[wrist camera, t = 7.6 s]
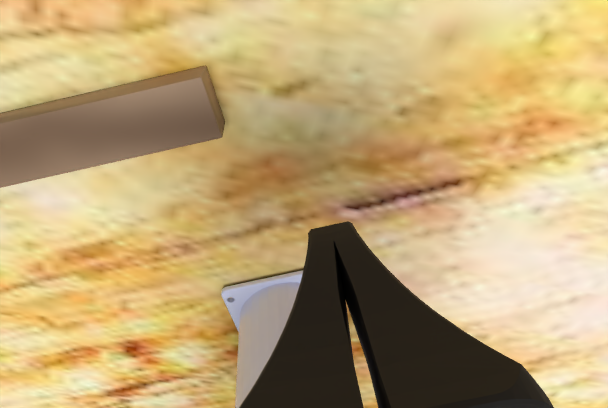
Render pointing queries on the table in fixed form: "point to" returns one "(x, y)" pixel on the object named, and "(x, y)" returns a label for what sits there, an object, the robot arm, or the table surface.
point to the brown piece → (108, 126)
